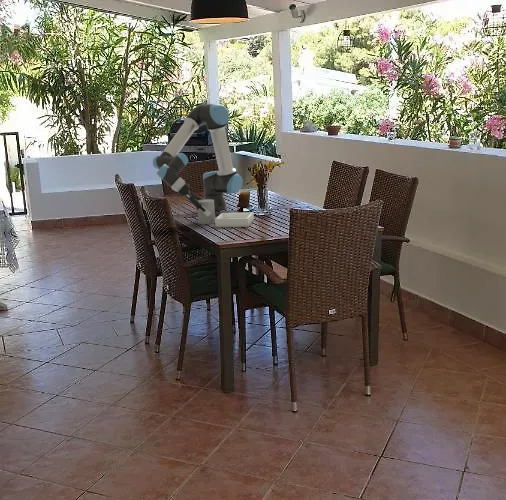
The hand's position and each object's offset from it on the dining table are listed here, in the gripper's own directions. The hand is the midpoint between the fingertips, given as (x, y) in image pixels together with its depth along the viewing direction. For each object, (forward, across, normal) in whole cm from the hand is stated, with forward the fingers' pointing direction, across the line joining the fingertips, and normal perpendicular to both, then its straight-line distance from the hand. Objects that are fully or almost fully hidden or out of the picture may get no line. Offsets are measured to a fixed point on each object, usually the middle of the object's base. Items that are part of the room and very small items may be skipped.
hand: (210, 212), depth 392 cm
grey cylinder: (+2, 0, -5) cm, 6 cm away
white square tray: (+13, +8, +6) cm, 17 cm away
